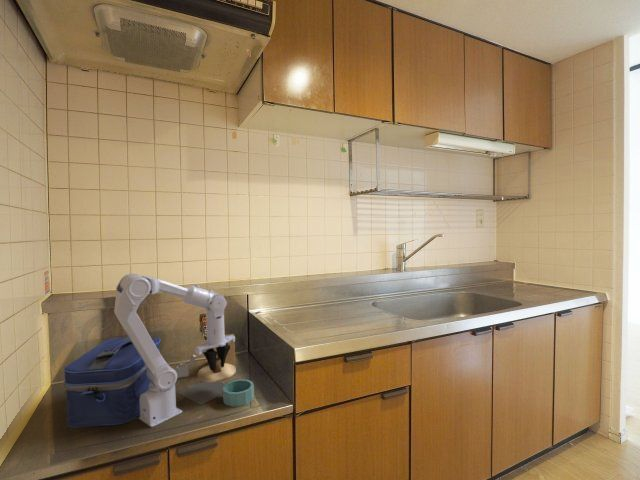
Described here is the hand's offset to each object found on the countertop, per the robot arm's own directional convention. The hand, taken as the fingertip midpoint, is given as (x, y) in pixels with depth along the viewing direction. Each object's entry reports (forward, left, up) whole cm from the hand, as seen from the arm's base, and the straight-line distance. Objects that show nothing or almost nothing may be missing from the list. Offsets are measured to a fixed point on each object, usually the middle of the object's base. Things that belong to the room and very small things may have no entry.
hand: (217, 368), depth 114 cm
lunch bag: (-22, +22, -9) cm, 33 cm away
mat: (-1, +5, -9) cm, 10 cm away
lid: (0, 0, -2) cm, 2 cm away
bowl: (+2, -8, -9) cm, 12 cm away
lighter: (+2, +22, -9) cm, 24 cm away
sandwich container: (+15, +18, -10) cm, 26 cm away
